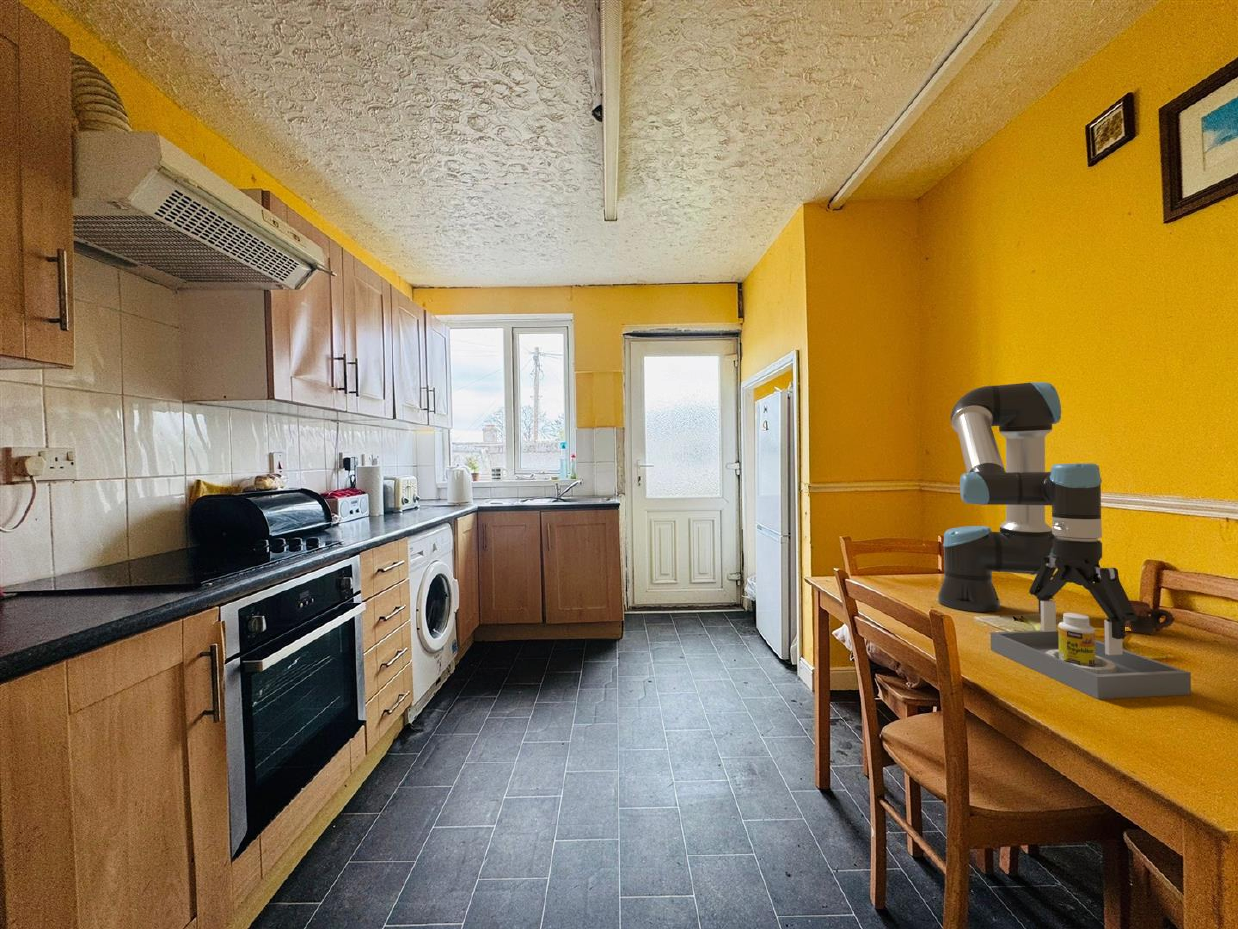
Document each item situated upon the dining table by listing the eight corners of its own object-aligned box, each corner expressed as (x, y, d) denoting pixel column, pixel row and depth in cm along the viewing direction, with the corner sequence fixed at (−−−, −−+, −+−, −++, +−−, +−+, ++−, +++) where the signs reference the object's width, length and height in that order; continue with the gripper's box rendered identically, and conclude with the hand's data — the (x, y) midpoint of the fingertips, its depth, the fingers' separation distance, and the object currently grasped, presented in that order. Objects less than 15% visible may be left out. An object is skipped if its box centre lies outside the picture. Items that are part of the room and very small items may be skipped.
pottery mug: (1105, 631, 126) (1098, 599, 129) (1120, 641, 129) (1113, 610, 133) (1173, 631, 116) (1164, 596, 120) (1187, 642, 120) (1178, 608, 124)
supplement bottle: (1063, 667, 101) (1062, 617, 101) (1055, 658, 106) (1054, 610, 106) (1100, 673, 98) (1099, 621, 98) (1090, 663, 103) (1089, 613, 103)
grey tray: (990, 650, 113) (990, 632, 113) (1065, 646, 114) (1065, 629, 114) (1097, 699, 89) (1097, 677, 89) (1191, 694, 90) (1190, 672, 90)
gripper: (1008, 531, 114) (1010, 623, 114) (1124, 548, 89) (1127, 667, 89) (1039, 530, 115) (1041, 622, 115) (1163, 547, 90) (1166, 665, 90)
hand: (1079, 642), depth 102 cm, fingers open, 13 cm apart
